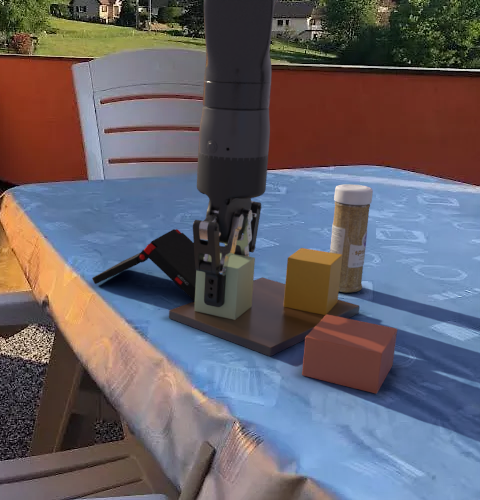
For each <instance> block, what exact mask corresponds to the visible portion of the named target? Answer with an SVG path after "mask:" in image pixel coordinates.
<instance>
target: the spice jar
mask: <svg viewBox="0 0 480 500" xmlns="http://www.w3.org/2000/svg"><path fill="white" fill-rule="evenodd" d="M373 193H374V190H373V188H372V187H370V186H367V185H361V184H338V185H336V186H335V189H334V196H333V200H334V211H333V221H332V225H331V226H332V227H331V239H330V247H329V252H330V253H336V254H342V265H341V274H340V284H339V292H340V293H346V294H348V293H349V294H351V293H357V292H359V291H361V290H362V289H363V285H362V282H363V270H364V265H365V258H366V257H365V256H366V249H367V248H366V247H367V239H368V238H367V237H368V223H369V216H370V215H369V214H370V207H371V204H372V202H373Z"/></svg>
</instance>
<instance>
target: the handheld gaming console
mask: <svg viewBox="0 0 480 500" xmlns="http://www.w3.org/2000/svg"><path fill="white" fill-rule="evenodd" d="M203 256H205V254H203ZM148 260H150V261H151V263H153V264H154V265H155V266H156V267H158V268H159V269H160V270H161V271H162V273H164V274H165V275H166V276H167V277H168V278H169V279H170V280H171V281H172V282H174V284H175V285H176V286H178V287H179V288H180V290H182V292H184V293H185V294H186V295H187V296H188V297H189V298H190V299H191V300H193V301H195V290H196V269H195V255H194V241H193V240H191V239H190V238H189V237H188V236H187V235H186V234H185V233H184V232H181V231H180V230H179V229H177V228H176V229H175V228H173V229H172V230H169V231H168V232H166V233H164V234H162V235H160V236H158V237H156V238H155V239H153V240H152V241H150V243H148V244H147V245H146V247H145V248H144V249H142V250H141V252H138V253H137V254H134V255H132V256H130V257H128V258H126V259H124V260H122V261H120V262H118V263H117V264H115V265H113V266H111V267H109V268H108V269H106V270H104V271H102V272H100V273H98V274H96V275H95V276H93V277H92V278H91V279H92V282H93V284H95V285H97V284H99V283H101V282H103V281H105V280H107V279H110V278H112V277H113V276H116V275H119V274H121V273H122V272H124V271H126V270H129V269H131V268H133V267H135V266H137V265H139V264H141V263H145V262H146V261H148Z"/></svg>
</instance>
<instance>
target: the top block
mask: <svg viewBox="0 0 480 500" xmlns="http://www.w3.org/2000/svg"><path fill="white" fill-rule="evenodd" d="M286 261H287V262H286V273H285V283H284V284H285V296H284V307H288V308H292V309H297V310H302V311H307V312H312V313H317V314H322V315H326V314H327V313H328V312H329V311H330V310H331V309H332V308H333V307H334V306H335V305H336V303H337V302H338V300H339V284H340V274H341V265H342V254H336V253H330V251H323V250H316V249H310V248H304V247H300V248H298V250H296V251H295V252H294V253H292V254H291V255H290V256H288V257H287V260H286Z"/></svg>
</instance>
